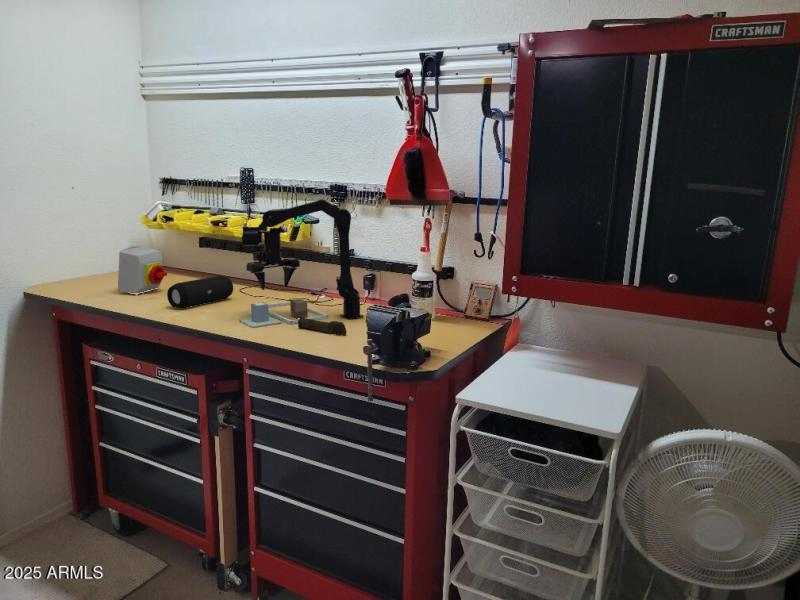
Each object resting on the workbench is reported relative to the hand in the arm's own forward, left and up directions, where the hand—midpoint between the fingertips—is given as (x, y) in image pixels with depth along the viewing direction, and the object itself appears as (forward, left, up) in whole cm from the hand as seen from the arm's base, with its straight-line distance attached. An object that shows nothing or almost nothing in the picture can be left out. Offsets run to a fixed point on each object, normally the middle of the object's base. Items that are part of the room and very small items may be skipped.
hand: (274, 288), depth 214 cm
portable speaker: (+36, +14, -11) cm, 40 cm away
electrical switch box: (+70, +26, -11) cm, 75 cm away
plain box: (-4, -7, -11) cm, 14 cm away
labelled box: (-3, +8, -10) cm, 13 cm away
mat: (-3, +8, -11) cm, 14 cm away
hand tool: (-26, -5, -11) cm, 29 cm away
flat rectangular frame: (+2, -7, -11) cm, 13 cm away
